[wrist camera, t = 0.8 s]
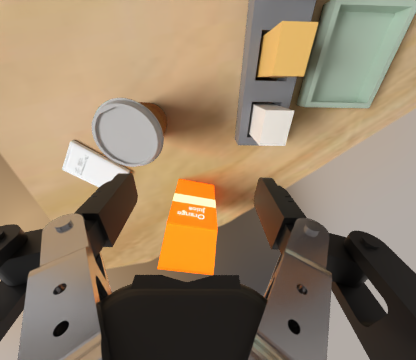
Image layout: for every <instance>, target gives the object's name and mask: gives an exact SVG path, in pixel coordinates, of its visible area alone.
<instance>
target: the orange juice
mask: <svg viewBox="0 0 416 360" xmlns="http://www.w3.org/2000/svg"><path fill="white" fill-rule="evenodd" d="M217 231H218V230H217V217H216V202H215V193H214V185H211V184H205V183H200V182H194V181H188V180H183V179H179V180H178V184H177V188H176V191H175V194H174V198H173V202H172V206H171V210H170V213H169V217H168V221H167V225H166V231H165V235H164V240H163V245H162V249H161V254H160V258H159V263H158V268H157V269H162V270H171V271H180V272H189V273H198V274H207V275H213V273H214V262H215V250H216V238H217Z"/></svg>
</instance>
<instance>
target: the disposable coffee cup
mask: <svg viewBox="0 0 416 360" xmlns="http://www.w3.org/2000/svg"><path fill="white" fill-rule="evenodd" d="M166 126H167V119H166V116H165V113H164V112H163V110H162V109H161V108H160V107H158V106H157V105H155V104H152V103H142V102H136V101H134V100H131V99H126V98H115V99H111V100H108V101H106V102H104V103H103V104H102V105H101V106H100V107H99V108H98V109H97V111H96V113H95V116H94V118H93V121H92V134H93V138H94V140H95V142H96V144H97V146H98V147H99V149H100V150H101V151H102V152H103V153H104V154H105V155H106V156H107V157H108V158H110V159H111V160H112V161H114V162H116V163H118V164H121V165H124V166H131V167H135V166H142V165H146V164H149V163H151V162H152V161H154V160H155V159H156V158H157V157H158V156H159V154H160V153H161V150H162V147H163V140H164V137H163V136H164V133H165V129H166Z"/></svg>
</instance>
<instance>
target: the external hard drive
mask: <svg viewBox="0 0 416 360" xmlns="http://www.w3.org/2000/svg"><path fill="white" fill-rule="evenodd" d="M62 170H64V171H66V172H68V173H70V174H72V175H74V176H76V177H78V178H81V179H83V180H85V181H87V182H89V183H91V184H93V185H95V186H97V187H100V186H101V185H103V184H105V183H106V182H108V181H111V180H112V179H113V178H114V177H115V176H116V175H117V174H118V173H126V174H129V172H130V170H129V169H127V168H125V167H123V166H121V165H119V164H118V163H116V162H114V161H112V160H110V159H108V158H106V157H105V156H103V155H101V154H99V153H97V152H95V151H93V150H91V149H90V148H88V147H86V146H84V145H82V144H80V143H78V142H77V141H75V140H73V141H71V142H70V145H69V148H68V151H67V155H66V158H65V161H64V164H63V168H62Z"/></svg>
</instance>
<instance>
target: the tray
mask: <svg viewBox="0 0 416 360" xmlns="http://www.w3.org/2000/svg"><path fill="white" fill-rule="evenodd" d="M415 13H416V0H330V1H329V2H327V3H326V4H324V5H323V9H322V13H321V16H320V20H319V24H318V27H317V31H316V35H315V38H314V42H313V46H312V49H311V53H310V57H309V60H308V64H307V68H306V72H305V75H304V79H303V83H302V86H301V90H300V94H299V97H298V101H297V105H298V106H302V107H329V108H369V107H370V105H371V103H372V101H373V99H374V97H375V95H376V93H377V91H378V89H379V87H380V85H381V83H382V81H383V79H384V76H385V74H386V72H387V70H388V68H389V66H390V64H391V62H392V60H393V58H394V56H395V54H396V52H397V50H398V48H399V46H400V44H401V41H402V39H403V37H404V35H405V33H406V31H407V29H408V27H409V25H410V23H411V21H412V19H413V17H414V15H415Z"/></svg>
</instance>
